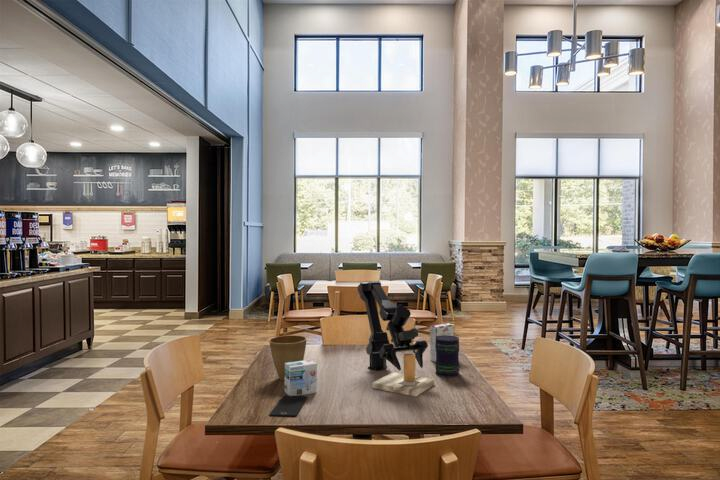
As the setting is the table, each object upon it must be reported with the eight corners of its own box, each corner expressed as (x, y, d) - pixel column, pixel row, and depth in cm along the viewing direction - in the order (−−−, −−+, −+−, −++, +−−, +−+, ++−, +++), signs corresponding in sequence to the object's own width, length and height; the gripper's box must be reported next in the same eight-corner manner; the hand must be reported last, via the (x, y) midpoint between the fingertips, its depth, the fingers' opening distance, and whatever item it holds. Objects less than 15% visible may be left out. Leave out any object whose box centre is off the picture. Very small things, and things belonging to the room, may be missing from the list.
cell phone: (268, 417, 145) (268, 414, 145) (283, 397, 163) (283, 395, 163) (296, 418, 144) (296, 415, 144) (307, 398, 162) (307, 395, 162)
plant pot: (285, 371, 194) (285, 333, 194) (314, 376, 187) (313, 337, 187) (261, 380, 181) (261, 340, 181) (291, 386, 174) (290, 344, 174)
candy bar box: (448, 357, 216) (447, 322, 216) (455, 359, 212) (455, 324, 212) (429, 360, 211) (429, 325, 211) (436, 363, 206) (436, 326, 206)
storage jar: (430, 371, 193) (430, 336, 193) (450, 369, 196) (450, 334, 196) (443, 378, 183) (443, 341, 183) (464, 375, 187) (464, 339, 187)
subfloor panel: (372, 387, 172) (372, 382, 172) (392, 377, 186) (392, 371, 186) (415, 396, 162) (415, 390, 162) (434, 384, 176) (434, 379, 176)
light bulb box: (289, 397, 162) (289, 367, 162) (283, 391, 168) (283, 362, 168) (317, 392, 167) (317, 363, 167) (311, 387, 173) (310, 359, 173)
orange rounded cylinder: (404, 390, 169) (404, 356, 169) (403, 386, 174) (403, 353, 174) (416, 390, 169) (415, 356, 169) (414, 386, 174) (414, 353, 174)
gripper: (382, 323, 172) (395, 359, 161) (425, 319, 179) (441, 354, 168) (373, 339, 179) (386, 375, 169) (415, 335, 186) (429, 370, 176)
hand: (411, 368), depth 170 cm, fingers open, 9 cm apart
